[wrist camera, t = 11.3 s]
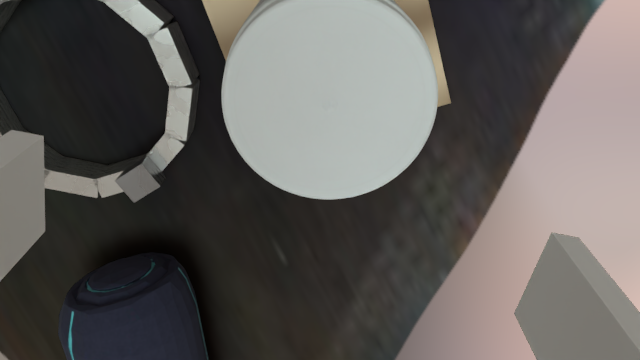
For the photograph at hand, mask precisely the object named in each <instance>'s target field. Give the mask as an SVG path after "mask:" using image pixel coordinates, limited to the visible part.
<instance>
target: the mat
mask: <svg viewBox="0 0 640 360" xmlns="http://www.w3.org/2000/svg"><path fill="white" fill-rule="evenodd" d="M259 1H260V0H202V2H203V4H204V7H205V9H206V12H207V14H208V17H209V19H210V22H211V25H212V27H213V30H214V32H215V35H216V37H217V40H218V42H219V45H220V47H221V50H222V52H223V55H224V58H225V60H227V57H228V53H229V50H230V48H231V45H232V43H233V41H234V39H235V37H236V35H237V33H238V32H239V30H240V28H241V27H242V25H243V24H244V22H245V21H246V19H247V18H248V17H249V15H250V14H251V12H252V11H253V9H254V8H255V7H256V5H257V4H258V2H259ZM394 1H395V2H396V3H397V4H398V5H399V6H400V8H401V9H402V10H403V11H404V12H405V13H406V14H407V15H408V16H409V18H410V19H411V20H412V21H413V22H414V24H415V25H416V26H417V28H418V29H419V31H420V32H421V34H422V36H423V38H424V40H425V42H426V44H427V46H428V48H429V51H430V54H431V57H432V61H433V64H434V67H435V71H436V77H437V83H438V104H437V107H439V106H442V105H446V104H449V103H451V101H450V97H449V92H448V88H447V83H446V78H445V74H444V69H443V65H442V60H441V56H440V51H439V47H438V42H437V38H436V33H435V29H434V24H433V20H432V15H431V11H430V6H429V2H428V0H394Z"/></svg>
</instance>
